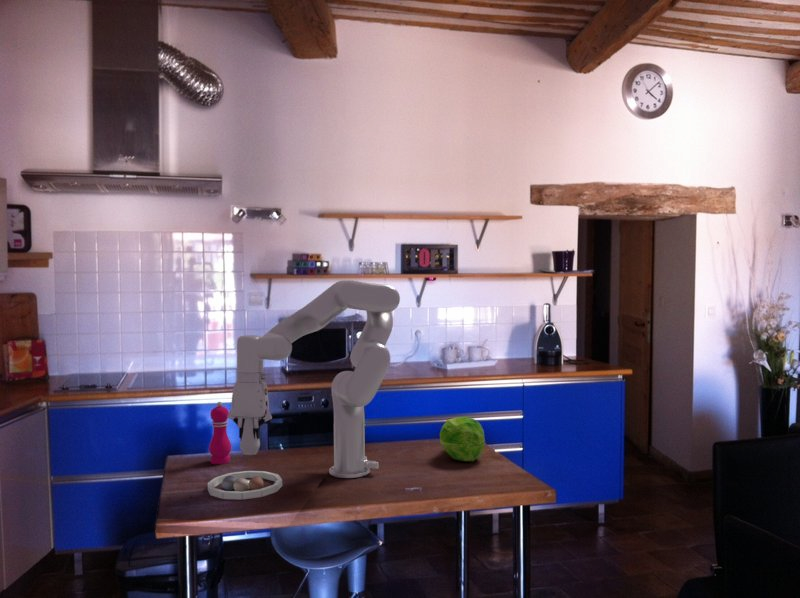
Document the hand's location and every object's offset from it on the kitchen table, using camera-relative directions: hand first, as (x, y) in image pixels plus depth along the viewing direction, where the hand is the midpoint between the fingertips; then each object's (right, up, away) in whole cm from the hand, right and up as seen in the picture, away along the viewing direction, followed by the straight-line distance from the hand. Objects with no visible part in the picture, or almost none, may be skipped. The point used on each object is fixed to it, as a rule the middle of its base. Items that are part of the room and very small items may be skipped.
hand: (249, 440), depth 189 cm
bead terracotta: (+3, -12, -8) cm, 15 cm away
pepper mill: (-16, -13, +26) cm, 33 cm away
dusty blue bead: (-4, -12, -7) cm, 15 cm away
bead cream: (-1, -12, -10) cm, 15 cm away
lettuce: (+64, -13, +32) cm, 73 cm away
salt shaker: (0, -4, 0) cm, 4 cm away
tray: (0, -14, -5) cm, 14 cm away
